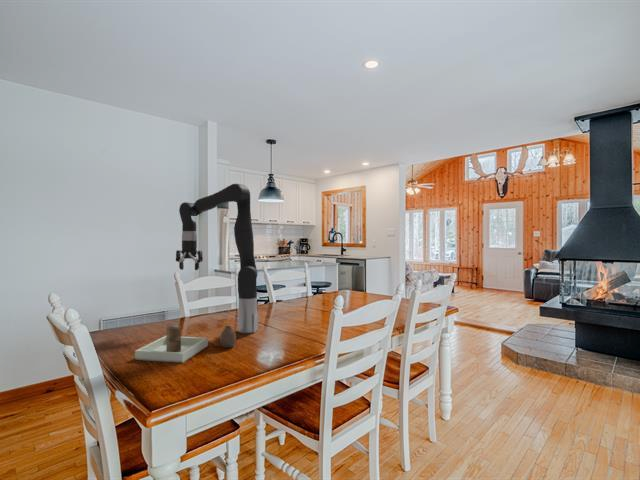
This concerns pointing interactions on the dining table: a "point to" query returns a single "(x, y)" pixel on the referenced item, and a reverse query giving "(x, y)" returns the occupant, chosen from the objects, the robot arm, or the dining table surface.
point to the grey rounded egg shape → (227, 337)
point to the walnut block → (173, 338)
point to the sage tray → (159, 352)
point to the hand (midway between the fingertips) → (189, 269)
